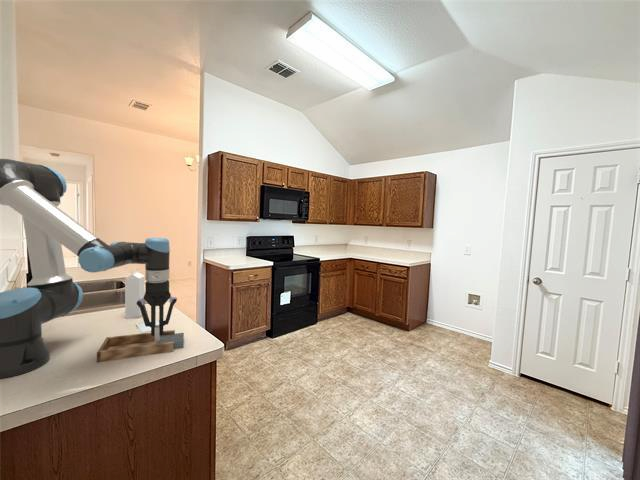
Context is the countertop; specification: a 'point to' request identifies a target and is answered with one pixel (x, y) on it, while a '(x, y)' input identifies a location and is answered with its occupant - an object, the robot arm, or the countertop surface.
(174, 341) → the grey square tile
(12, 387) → the countertop surface
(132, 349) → the box
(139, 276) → the milk
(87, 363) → the countertop surface
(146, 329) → the hard drive
